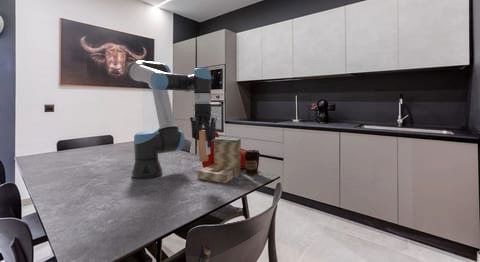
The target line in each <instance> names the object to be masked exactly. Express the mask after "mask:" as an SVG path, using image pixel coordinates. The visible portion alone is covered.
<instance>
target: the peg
mask: <svg viewBox="0 0 480 262" xmlns="http://www.w3.org/2000/svg"><path fill="white" fill-rule="evenodd" d="M206 140H207V137H206V132H205V129H202V130H199V154H198V155H199V161H200V162H202V161H208V155H206V144H205V141H206Z"/></svg>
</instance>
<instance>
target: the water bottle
mask: <svg viewBox="0 0 480 262" xmlns="http://www.w3.org/2000/svg"><path fill="white" fill-rule="evenodd" d="M215 137H220V134H219V133H218V132H217V130H215ZM213 164H214V141H212V146H211V147H210V154H208V161H201V165H202V167H203V168H205V167H209V166H210V165H213Z"/></svg>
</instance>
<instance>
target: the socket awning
mask: <svg viewBox="0 0 480 262" xmlns="http://www.w3.org/2000/svg"><path fill="white" fill-rule="evenodd" d="M212 141H214V164H213V165H210V166H209V167H203V168H201V169H198V170H197V179H199V180H204V181H205V180H206V181H212V182H217V183H223V184H226V183H227V182H228V183H229V182H230V180H232V179H233V178H236V177H238V176H239V175H241V174H242V173H241V172H242V171H241V170H242V168H241V151H242V150H241V143H242V142H241V141H242V139H241V138H231V137H220V136H219V137H215V139H212Z"/></svg>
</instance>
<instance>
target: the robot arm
mask: <svg viewBox="0 0 480 262" xmlns="http://www.w3.org/2000/svg"><path fill="white" fill-rule="evenodd" d="M126 70H127V74H128V76H129V78H130V79H132V80H134V81H136V82H144V83H145V84H147V85H148V87H149V88H150V89H151V90H152V96H153V101H154V106H155V111H156V116H157V121H158V126H159V127H158V129H157V130H156V129H150V130H144V131H138V132H136V133H135V134H134V136H133V147H134V149H133V150H134V164H133V168H132V171H131V177H132V178H134V179H144V180H145V179H151V178H156V177H158V176H161V175H162V174H163V169H162V166H161V163H160V161H159V154H160V155H161V154H164V153H166V154H167V153H171V152H172V153H174V152H179V151H181V150H182V149H183V147H184V145H185V134H184V132H183V131H182V130H179V126H178V125H176V124H175V118H174V114H173V110H172V109H173V108H172V103H171V100H170V95H169V94H170V93H169V91H176V92H177V91H178V92H179V91H182V92H186V93H187V92H190V93H191V92H193V94H194V96H193V97H194V98H193V99H194V103H195V104H194V116H191V117H189V119H190V123H191V125H190V127H191V137H192V139H194V140H195V147H196V149H197V152H196V153H197V155H199V130H203V126H204V130H205V132H206V137H207V140H206V141H205V144H206V155H208V154H210V147H211V146H212V139H215V131H217V130H216V128H217V126H216V123H217V121H218V118H217V117H214V116H213V115H212V76H211V70H210V69H209V68H207V67H206V68H205V67H197V68H194V70H193V74H182V73H181V74H180V73H172V71H171V69H170V67H169V66H168V64H166V63H162V62H155V61H146V60H135V61H132V62H130V64H128V66H127V68H126Z"/></svg>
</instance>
